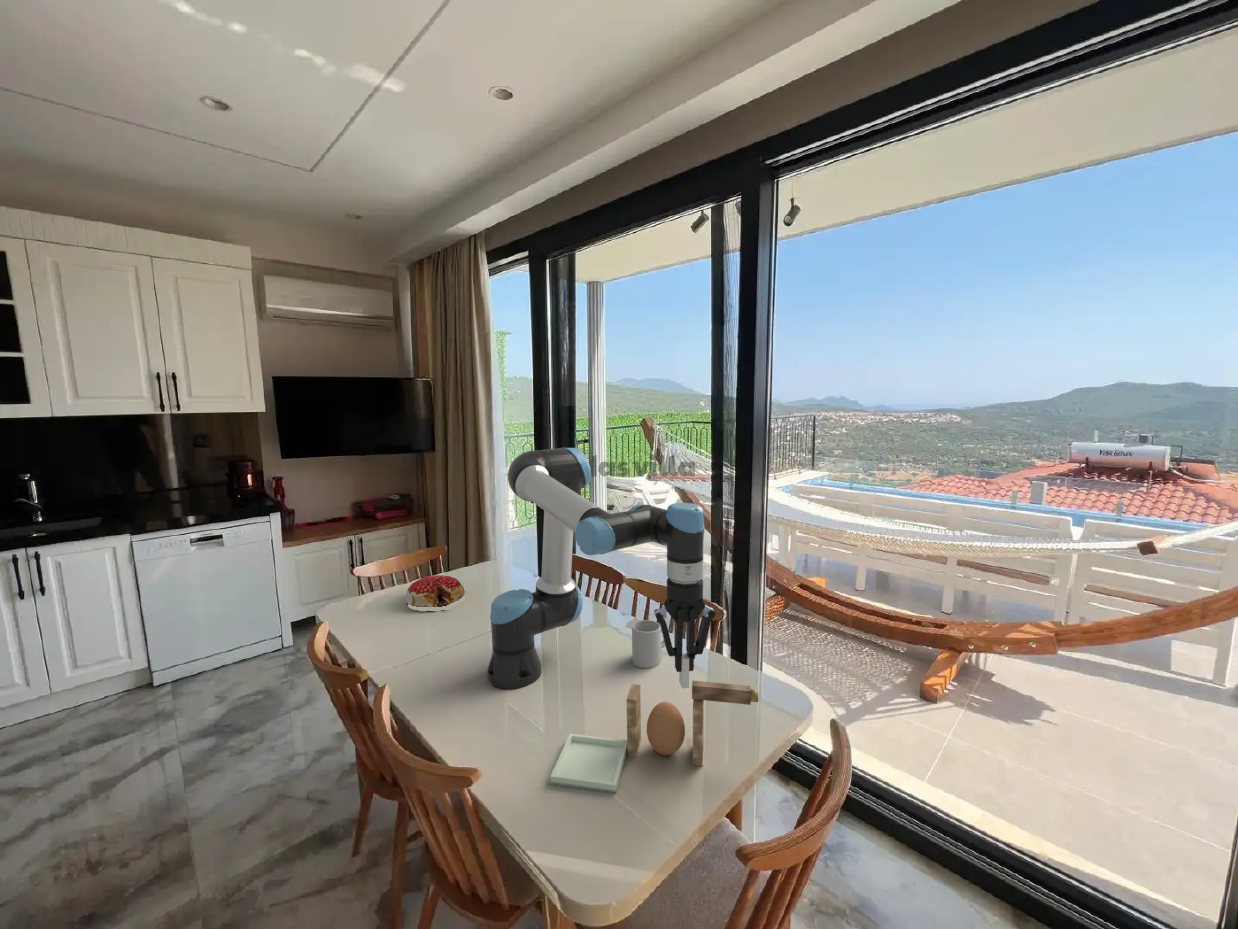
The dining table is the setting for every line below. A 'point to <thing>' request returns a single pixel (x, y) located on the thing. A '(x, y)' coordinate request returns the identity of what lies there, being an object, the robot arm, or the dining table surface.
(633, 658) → the mug
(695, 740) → the wooden post pair
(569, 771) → the dish
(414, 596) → the cake
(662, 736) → the egg
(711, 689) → the wooden crossbeam
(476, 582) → the dining table surface
